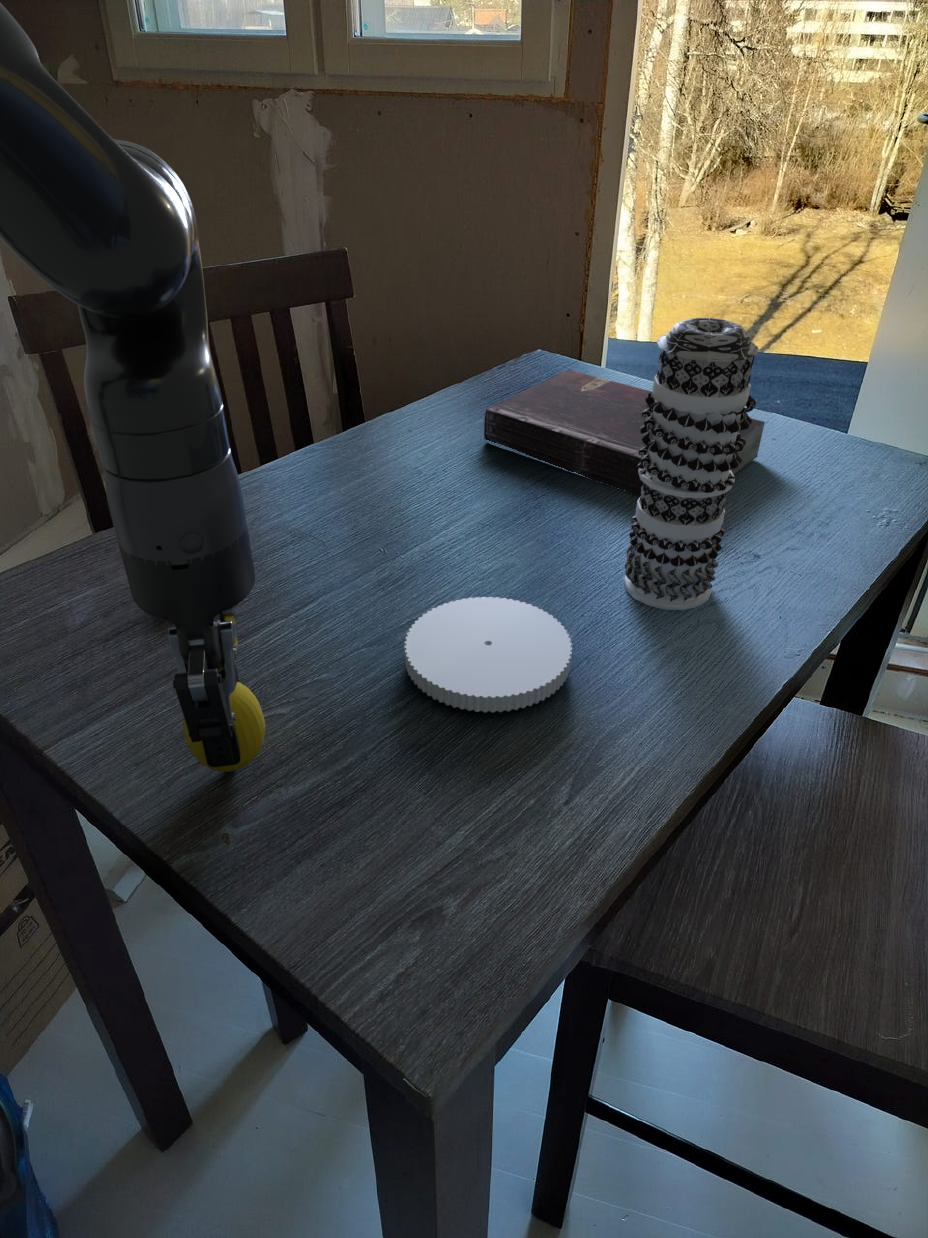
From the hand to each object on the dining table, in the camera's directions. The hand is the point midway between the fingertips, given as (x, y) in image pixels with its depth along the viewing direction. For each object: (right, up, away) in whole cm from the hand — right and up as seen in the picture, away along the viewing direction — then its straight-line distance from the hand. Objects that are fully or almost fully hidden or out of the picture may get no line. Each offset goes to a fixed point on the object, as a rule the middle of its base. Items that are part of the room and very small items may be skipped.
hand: (226, 731), depth 61 cm
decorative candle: (+37, +11, +22) cm, 45 cm away
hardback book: (+37, +29, +48) cm, 67 cm away
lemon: (0, -3, +2) cm, 4 cm away
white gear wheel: (+19, +4, +12) cm, 23 cm away
